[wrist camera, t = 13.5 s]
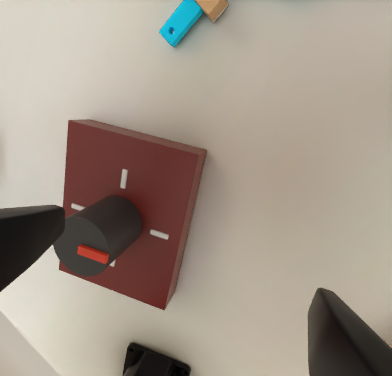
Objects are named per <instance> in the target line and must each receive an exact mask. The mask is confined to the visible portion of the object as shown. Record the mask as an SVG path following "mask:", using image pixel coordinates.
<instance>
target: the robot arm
mask: <svg viewBox="0 0 392 376" xmlns="http://www.w3.org/2000/svg"><path fill="white" fill-rule="evenodd" d="M64 229H65V209H64V208H62V207H60V206H56V205H44V206H30V207H17V208H4V209H0V292H1V291H2V290H3V289H4V288H6V287H7V286H8V285H9V284H10V283H12V282H13V281H14V280H15V279H16V278H17V277H19V276H20V275H21V274H22V273H23V272H24V271H26V270H27V269H28V268H29V267H30V266H31V265H32V264H34V263H35V262H36V261H37V260H38V259H39V258H40V257H41V256H42V255H43V253H44V252H45V251H46V250H47V249H48V248H49V247H50V246H51V245H52V244H53V243H54V242H55V241H56V240H57V239H58V238H59V237H60V236H61V235H62V234H63V232H64ZM308 364H309V374H310V376H392V348H391V347H390V346H389V345H388V344H387V343H386V342H385V341H383V340H382V339H381V338H380V337H379V336H378V335H377V334H376V333H375V332H374V331H373V330H372V329H371V328H370V327H369V326H368V325H367V324H366V323H365V322H364V321H363V320H362V319H361V318H360V317H359V316H358V315H357V314H356V313H355V312H354V311H353V310H352V309H350V308H349V307H348V306H347V305H346V304H345V303H344V302H343V301H342V300H341V299H340V298H339V297H338V296H337V295H336V294H335V293H334V292H332V291H330V290H327V289H323V288H318V289H317V291H316V293H315V295H314V298H313V300H312V303H311V305H310V308H309V311H308ZM190 372H191V368H190V367H189V366H188V365H185V364H183V363H181V362H178V361H176V360H173V359H171V358H169V357H166V356H164V355H162V354H159V353H157V352H154V351H152V350H150V349H147V348H145V347H142V346H140V345H138V344H135V343H130V344H129V346H128V348H127V353H126V359H125V364H124V370H123V376H190Z"/></svg>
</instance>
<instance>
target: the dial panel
mask: <svg viewBox="0 0 392 376" xmlns="http://www.w3.org/2000/svg"><path fill="white" fill-rule="evenodd" d="M206 152H207V150H205V149H201V148H197V147H193V146H189V145H186V144H182V143H178V142H174V141H170V140H166V139H163V138H159V137H155V136H151V135H147V134H143V133H140V132H136V131H132V130H128V129H124V128H120V127H117V126H113V125H109V124H105V123H101V122H97V121H93V120H69V121H68V137H67V153H66V169H65V184H64V200H63V208H64V209H65V218H66V217H68V216H70V215H72V214H74V213H76V212H78V211H80V210H82V209H84V208H86V207H88V206H90V205H92V204H94V203H96V202H98V201H100V200H102V199H104V198H106V197H108V196H121V197H124V198H126V199H128V200H129V201H131V202H132V203H133V204H134V205H135V206H136V208H137V209H138V211H139V213H140V215H141V218H142V231H141V234H140V236H139V237H138V239H137V240H136V241H135V242H134V243H132V244H131V245H130V246H129V247H128V248H127V249H126V250H125V251H124V252H123V253H122V254H121V255H120V256H119V257H118V258H116V259H115V260H114V261H113V262H112V263H111V264H110V265H109V266H108V267H107V268H106V269H105V270H104V271H102V272H101V273H100V274H98V275H95V276H81V275H78V274H76V273H74V272H72V271H70V270H69V269H68V268H67V267H65V266H64V264H63V263H62V262H61V261H60V263H59V270H61V271H64V272H66V273H69V274H72V275H74V276H77V277H79V278H82V279H85V280H87V281H90V282H92V283H95V284H97V285H100V286H103V287H105V288H108V289H110V290H113V291H116V292H118V293H121V294H123V295H126V296H129V297H131V298H134V299H136V300H139V301H142V302H144V303H147V304H149V305H152V306H154V307H157V308H160V309H162V310H165V309H166V307H167V305H168V303H169V301H170V299H171V298H172V296H173V294H174V292H175V288H176V284H177V279H178V275H179V271H180V266H181V262H182V257H183V253H184V249H185V244H186V240H187V235H188V231H189V227H190V222H191V218H192V213H193V209H194V205H195V200H196V196H197V191H198V187H199V183H200V178H201V174H202V169H203V165H204V161H205V156H206Z"/></svg>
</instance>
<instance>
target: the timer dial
mask: <svg viewBox="0 0 392 376" xmlns="http://www.w3.org/2000/svg"><path fill="white" fill-rule="evenodd" d="M141 231H142V218H141V215H140V213H139V211H138V209H137V208H136V206H135V205H134V204H133V203H132V202H131V201H129V200H128V199H126V198H124V197H121V196H108V197H106V198H104V199H102V200H100V201H98V202H96V203H94V204H92V205H90V206H88V207H86V208H84V209H82V210H80V211H78V212H76V213H74V214H72V215H70V216H68V217H66V218H65V229H64V232H63V234H62V235H61V236H60V237H59V238H58V239H57V240H56V241H55V242H54V243H53V246H54V249H55V252H56V254H57V256H58V258H59V260H60V261H61V262H62V263H63V264H64V266H65V267H67V268H68V269H69V270H70V271H72V272H74V273H76V274H78V275H81V276H95V275H98V274H100V273H101V272H102V271H104V270H105V269H106V268H107V267H108V266H109V265H110V264H111V263H112V262H113V261H114V260H115V259H116V258H118V257H119V256H120V255H121V254H122V253H123V252H124V251H125V250H126V249H127V248H128V247H129V246H130V245H131V244H132V243H134V242H135V241H136V240H137V239H138V237H139V236H140V234H141Z"/></svg>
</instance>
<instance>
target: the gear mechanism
mask: <svg viewBox="0 0 392 376" xmlns="http://www.w3.org/2000/svg"><path fill="white" fill-rule="evenodd" d="M227 7H228V3H227V0H183V2H182V3H181V4H180V6H179V7H178V8H177V9H176V11H175V12H174V13H173V14H172V16H171V17H170V18H169V19H168V21H167V22H166V23H165V25H164V26H163V27H162V28H161V30H160V31H159V32H160V34H161V35H162V36H163V37H164V38H165V39H166V40H167V41H168V43H169V44H170V45H171V46H173V47H175V46H176V45H177V44H178V42H179V41H180V40H181V39H182V38H183V36H184V35H185V34H186V33H187V32H188V30H189V29H190V28H191V27H192V26H193V24H194V23H195V22H196V21H197V20H198V18H199V17H200V16H201V15H202V14H203V12H204V13H205V14H206V15H207V16H208V17H209V19H210V20H211V21H212V22H213V23H214V22H215V21H216V20H217V18H218V17H219V16H220V15H221V14H222V13H223V11H224V10H225V9H226V8H227ZM173 30H174V33H173V34H172V31H173Z"/></svg>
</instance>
